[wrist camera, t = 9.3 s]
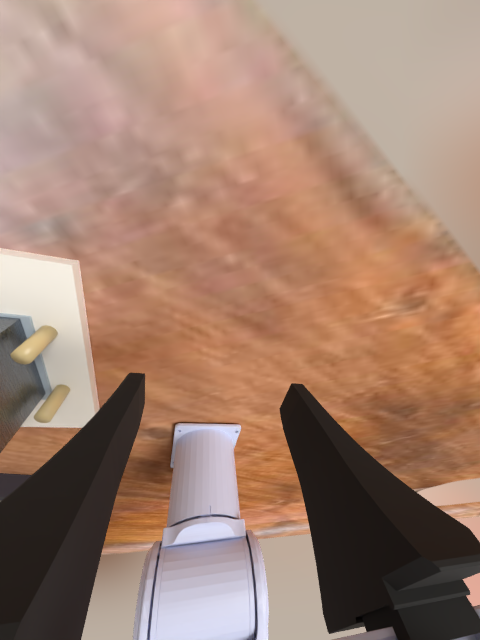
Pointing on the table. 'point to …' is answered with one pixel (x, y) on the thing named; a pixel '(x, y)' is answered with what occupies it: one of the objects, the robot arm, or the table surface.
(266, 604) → the robot arm
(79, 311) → the cream pegged board
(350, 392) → the table surface
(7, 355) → the block
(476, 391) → the table surface
